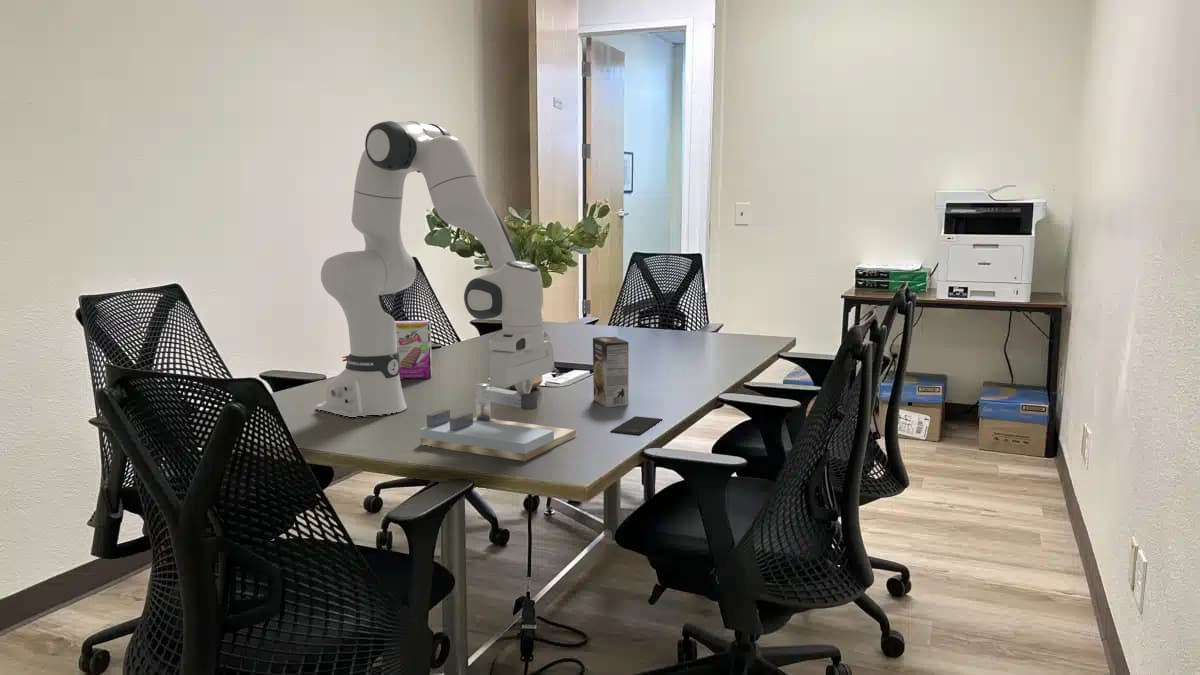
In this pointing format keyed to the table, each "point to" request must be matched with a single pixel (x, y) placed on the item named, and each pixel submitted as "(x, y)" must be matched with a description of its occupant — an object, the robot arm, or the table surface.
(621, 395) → the coffee box
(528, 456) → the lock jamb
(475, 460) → the table surface
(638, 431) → the smartphone
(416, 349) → the candy bar box
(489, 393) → the lock bar
